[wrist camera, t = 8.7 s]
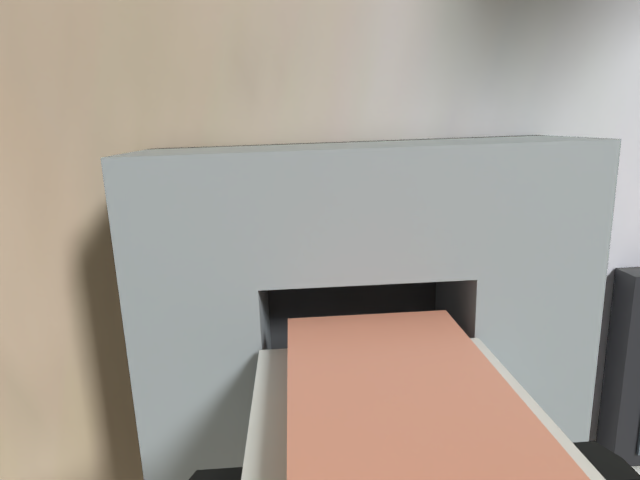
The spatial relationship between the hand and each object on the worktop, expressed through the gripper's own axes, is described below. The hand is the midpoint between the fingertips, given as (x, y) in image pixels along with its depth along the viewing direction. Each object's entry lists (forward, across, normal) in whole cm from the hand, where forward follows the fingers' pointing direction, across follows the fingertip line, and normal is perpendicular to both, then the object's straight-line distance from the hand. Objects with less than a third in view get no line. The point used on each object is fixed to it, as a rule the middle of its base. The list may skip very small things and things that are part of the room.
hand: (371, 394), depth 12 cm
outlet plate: (+4, 0, 0) cm, 4 cm away
